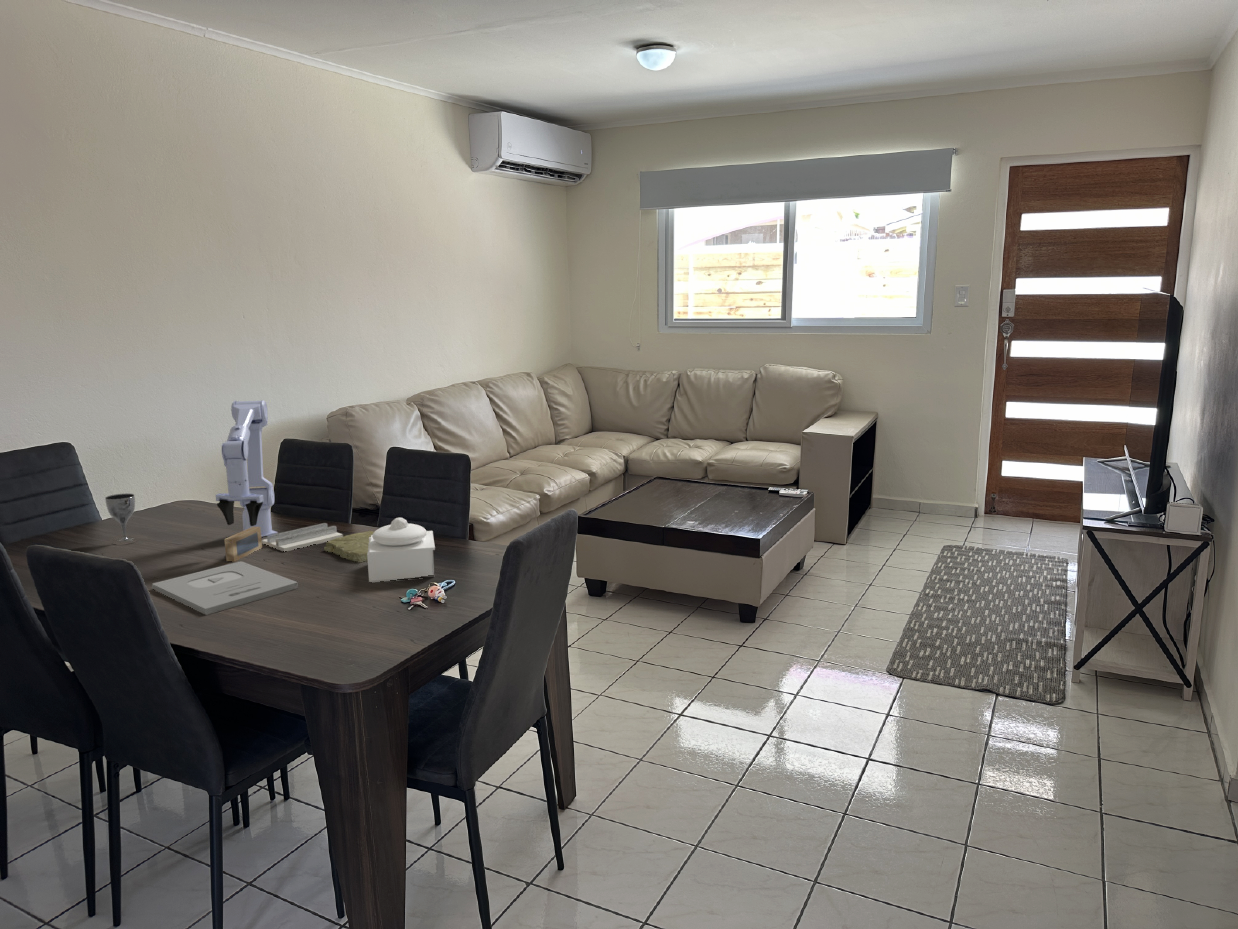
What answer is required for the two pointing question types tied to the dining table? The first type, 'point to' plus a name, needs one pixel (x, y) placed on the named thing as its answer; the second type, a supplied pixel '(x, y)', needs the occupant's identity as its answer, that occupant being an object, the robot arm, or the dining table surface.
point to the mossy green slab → (351, 546)
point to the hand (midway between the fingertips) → (242, 524)
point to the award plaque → (224, 587)
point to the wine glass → (121, 509)
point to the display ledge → (302, 537)
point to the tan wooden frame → (243, 544)
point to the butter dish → (400, 552)
